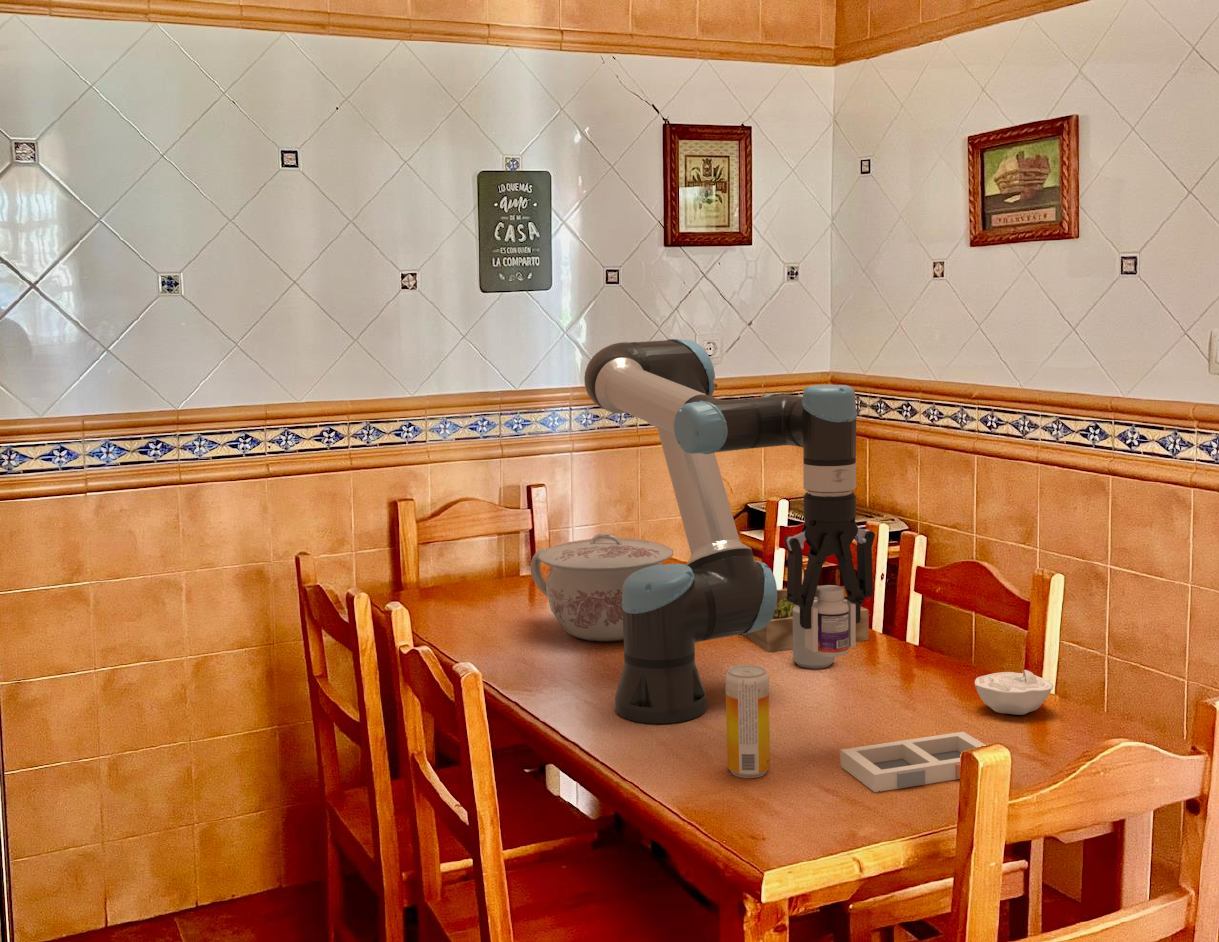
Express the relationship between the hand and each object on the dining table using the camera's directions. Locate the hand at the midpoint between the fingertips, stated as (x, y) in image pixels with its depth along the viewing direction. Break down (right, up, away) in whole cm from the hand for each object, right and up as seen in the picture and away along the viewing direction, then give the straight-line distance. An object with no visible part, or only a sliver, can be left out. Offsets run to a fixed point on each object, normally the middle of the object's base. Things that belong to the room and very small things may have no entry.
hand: (830, 646), depth 183 cm
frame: (+5, -6, +65) cm, 66 cm away
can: (+5, -10, +44) cm, 45 cm away
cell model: (+32, -13, +15) cm, 38 cm away
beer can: (-13, -17, -6) cm, 22 cm away
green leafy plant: (+6, -7, +65) cm, 65 cm away
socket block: (+12, -16, -7) cm, 21 cm away
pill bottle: (0, -1, 0) cm, 1 cm away
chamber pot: (-33, -7, +69) cm, 77 cm away
